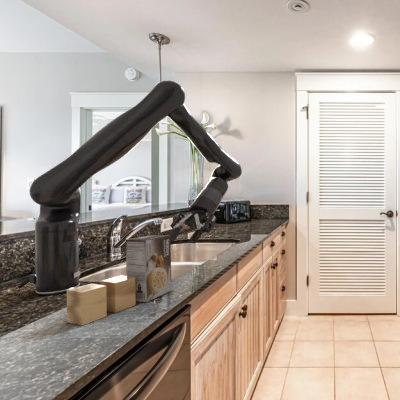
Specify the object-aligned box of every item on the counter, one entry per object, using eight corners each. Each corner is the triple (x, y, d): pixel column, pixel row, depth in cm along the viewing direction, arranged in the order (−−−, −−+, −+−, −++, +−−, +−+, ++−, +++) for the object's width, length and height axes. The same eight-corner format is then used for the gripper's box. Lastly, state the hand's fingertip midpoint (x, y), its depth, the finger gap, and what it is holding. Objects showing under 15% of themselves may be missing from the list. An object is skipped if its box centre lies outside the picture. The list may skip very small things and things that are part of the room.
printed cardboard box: (152, 289, 84) (152, 234, 84) (172, 291, 83) (171, 235, 82) (125, 301, 75) (124, 239, 75) (147, 302, 74) (146, 239, 73)
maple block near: (66, 322, 62) (66, 290, 62) (91, 313, 67) (91, 283, 67) (82, 325, 61) (82, 292, 61) (106, 316, 65) (106, 285, 65)
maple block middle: (100, 310, 69) (100, 280, 69) (121, 302, 74) (120, 275, 74) (115, 312, 67) (115, 282, 67) (135, 305, 72) (135, 277, 72)
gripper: (184, 195, 99) (156, 232, 89) (219, 195, 95) (193, 234, 84) (196, 209, 104) (170, 246, 94) (229, 210, 100) (206, 249, 89)
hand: (181, 240), depth 89 cm, fingers open, 8 cm apart
